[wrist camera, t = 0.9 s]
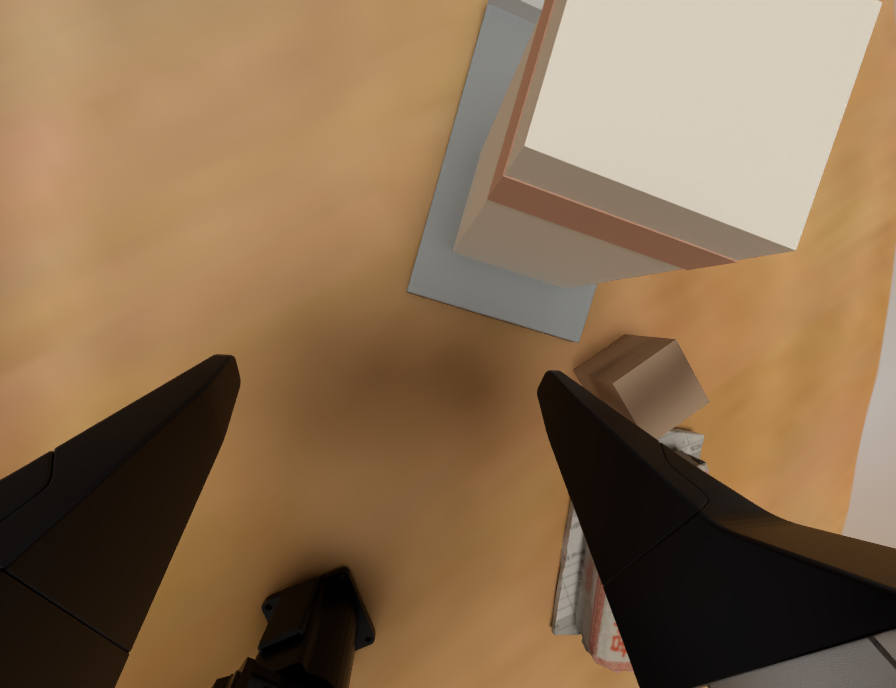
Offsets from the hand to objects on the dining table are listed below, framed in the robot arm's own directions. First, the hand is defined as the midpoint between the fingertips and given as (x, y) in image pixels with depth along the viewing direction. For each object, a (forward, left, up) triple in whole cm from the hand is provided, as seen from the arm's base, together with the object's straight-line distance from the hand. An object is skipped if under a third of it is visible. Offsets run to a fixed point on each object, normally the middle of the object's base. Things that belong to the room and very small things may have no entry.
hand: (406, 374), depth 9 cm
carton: (+5, -10, -13) cm, 17 cm away
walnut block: (-8, -14, -14) cm, 22 cm away
